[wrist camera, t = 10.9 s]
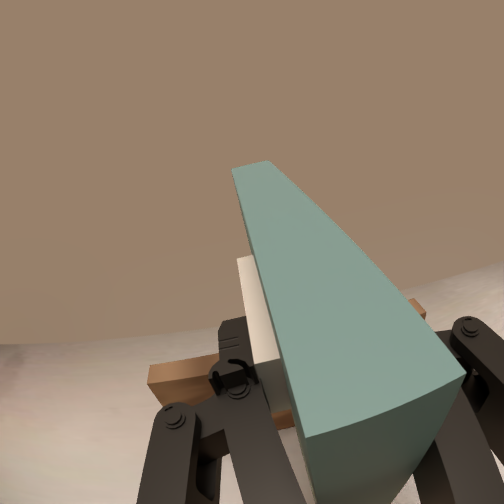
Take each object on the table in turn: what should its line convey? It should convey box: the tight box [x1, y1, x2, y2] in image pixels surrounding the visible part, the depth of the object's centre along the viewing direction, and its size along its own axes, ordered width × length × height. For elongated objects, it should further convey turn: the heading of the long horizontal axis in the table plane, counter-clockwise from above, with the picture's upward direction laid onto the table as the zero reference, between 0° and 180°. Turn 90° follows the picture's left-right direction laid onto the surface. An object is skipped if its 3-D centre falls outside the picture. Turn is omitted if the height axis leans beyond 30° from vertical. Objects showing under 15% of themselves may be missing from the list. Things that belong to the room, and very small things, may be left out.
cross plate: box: [231, 161, 466, 504], centre depth 14 cm, size 2×18×10 cm, turn 6°
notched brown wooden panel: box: [147, 298, 426, 430], centre depth 24 cm, size 22×2×10 cm, turn 97°
